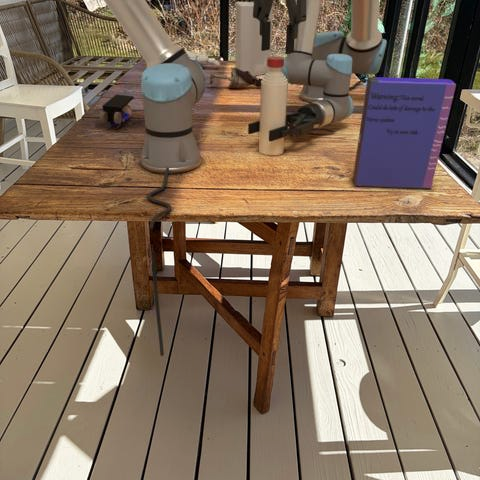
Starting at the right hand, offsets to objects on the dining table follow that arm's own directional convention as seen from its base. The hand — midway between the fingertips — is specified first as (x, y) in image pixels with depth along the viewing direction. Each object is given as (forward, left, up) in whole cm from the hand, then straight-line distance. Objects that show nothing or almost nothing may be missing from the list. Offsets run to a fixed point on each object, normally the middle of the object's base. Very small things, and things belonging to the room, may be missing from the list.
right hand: (259, 132), depth 126 cm
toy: (-94, -68, -6) cm, 116 cm away
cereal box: (+5, +35, -6) cm, 36 cm away
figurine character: (-8, -49, -6) cm, 50 cm away
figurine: (-68, -29, -6) cm, 74 cm away
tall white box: (-97, -37, -6) cm, 104 cm away
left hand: (-5, +2, +20) cm, 20 cm away
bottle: (-4, +2, -6) cm, 8 cm away
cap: (-4, +2, +18) cm, 18 cm away
